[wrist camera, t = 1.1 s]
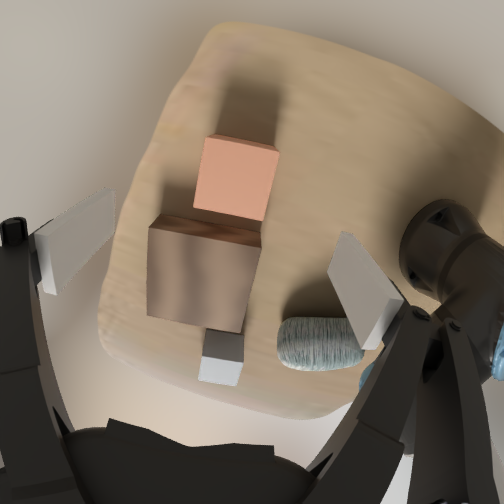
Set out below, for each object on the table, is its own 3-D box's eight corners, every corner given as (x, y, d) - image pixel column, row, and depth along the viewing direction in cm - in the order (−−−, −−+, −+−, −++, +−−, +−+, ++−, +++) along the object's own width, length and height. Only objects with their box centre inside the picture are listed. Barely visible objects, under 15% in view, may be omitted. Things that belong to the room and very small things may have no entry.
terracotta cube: (273, 146, 31) (280, 152, 25) (260, 201, 34) (262, 221, 28) (214, 134, 30) (205, 137, 24) (203, 190, 33) (193, 207, 27)
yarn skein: (379, 311, 38) (372, 375, 32) (355, 334, 45) (345, 388, 39) (293, 286, 39) (274, 351, 33) (281, 314, 47) (265, 368, 41)
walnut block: (260, 231, 36) (261, 248, 32) (240, 310, 42) (240, 333, 37) (161, 213, 35) (148, 227, 30) (156, 294, 40) (146, 315, 36)
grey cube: (243, 335, 44) (243, 362, 38) (236, 359, 46) (235, 386, 41) (206, 328, 43) (201, 356, 38) (202, 353, 45) (198, 380, 40)
